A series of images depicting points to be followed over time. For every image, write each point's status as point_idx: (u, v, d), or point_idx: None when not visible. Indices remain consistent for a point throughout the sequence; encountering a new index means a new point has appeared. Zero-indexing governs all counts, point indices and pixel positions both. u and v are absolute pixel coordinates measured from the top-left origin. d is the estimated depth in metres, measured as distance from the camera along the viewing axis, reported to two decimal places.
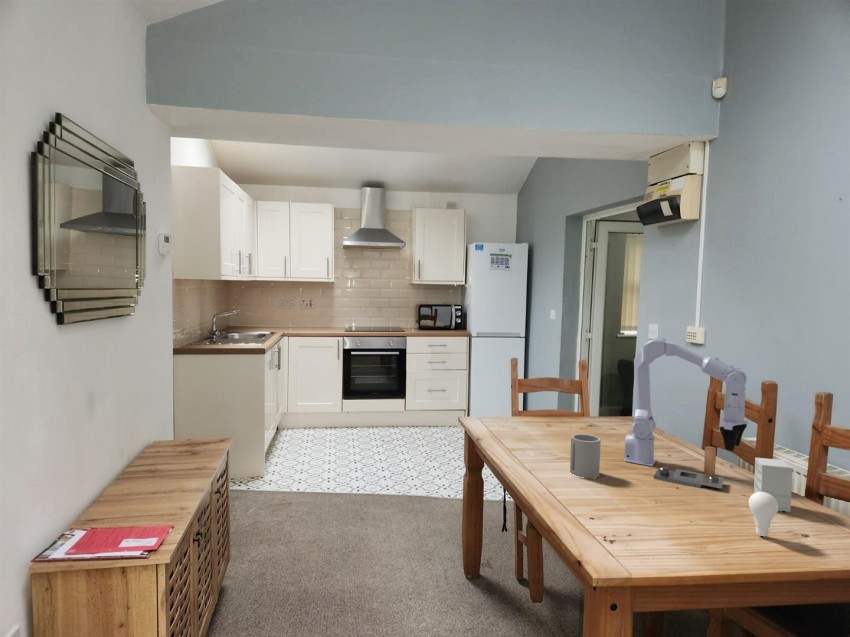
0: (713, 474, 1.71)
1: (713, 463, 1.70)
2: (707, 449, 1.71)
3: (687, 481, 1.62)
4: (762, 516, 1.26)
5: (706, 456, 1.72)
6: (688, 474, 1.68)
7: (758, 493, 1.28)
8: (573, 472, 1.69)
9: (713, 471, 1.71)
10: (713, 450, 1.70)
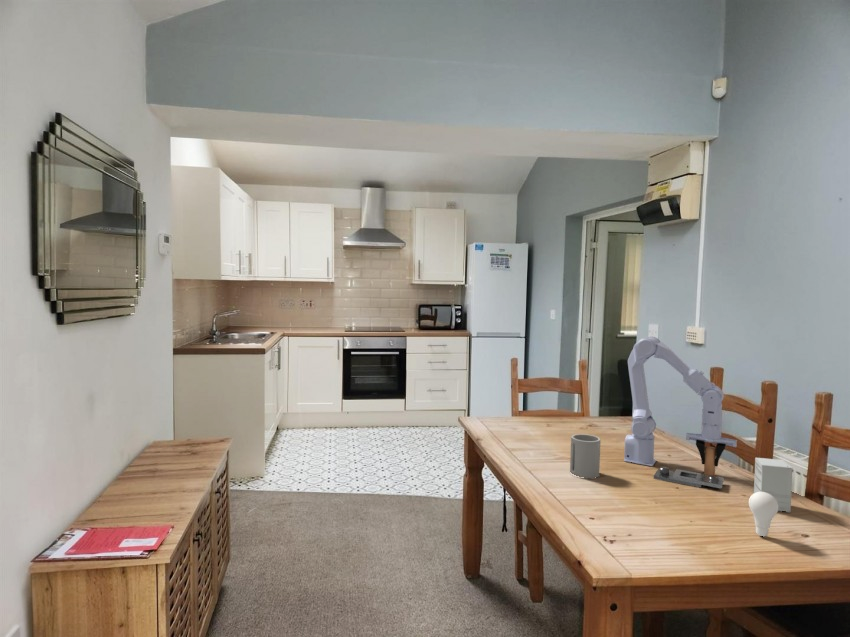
0: (713, 474, 1.71)
1: (713, 463, 1.70)
2: (707, 449, 1.71)
3: (687, 481, 1.62)
4: (762, 516, 1.26)
5: (706, 456, 1.72)
6: (688, 474, 1.68)
7: (758, 493, 1.28)
8: (573, 472, 1.69)
9: (713, 471, 1.71)
10: (713, 450, 1.70)
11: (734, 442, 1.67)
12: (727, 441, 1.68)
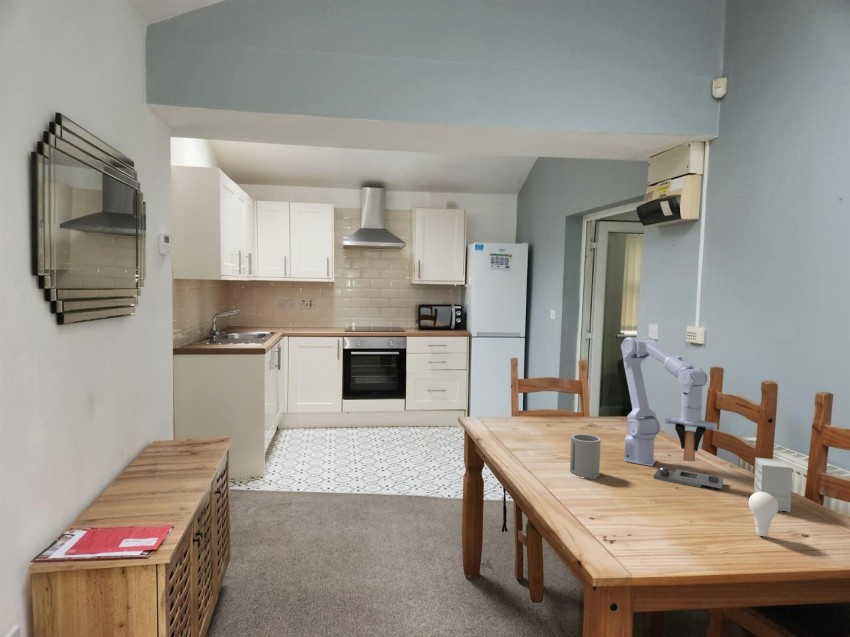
0: (693, 459, 1.64)
1: (692, 447, 1.64)
2: (686, 433, 1.64)
3: (687, 481, 1.62)
4: (762, 516, 1.26)
5: (685, 440, 1.65)
6: (688, 474, 1.68)
7: (758, 493, 1.28)
8: (573, 472, 1.69)
9: (693, 456, 1.64)
10: (692, 434, 1.64)
11: (714, 425, 1.60)
12: (707, 424, 1.61)
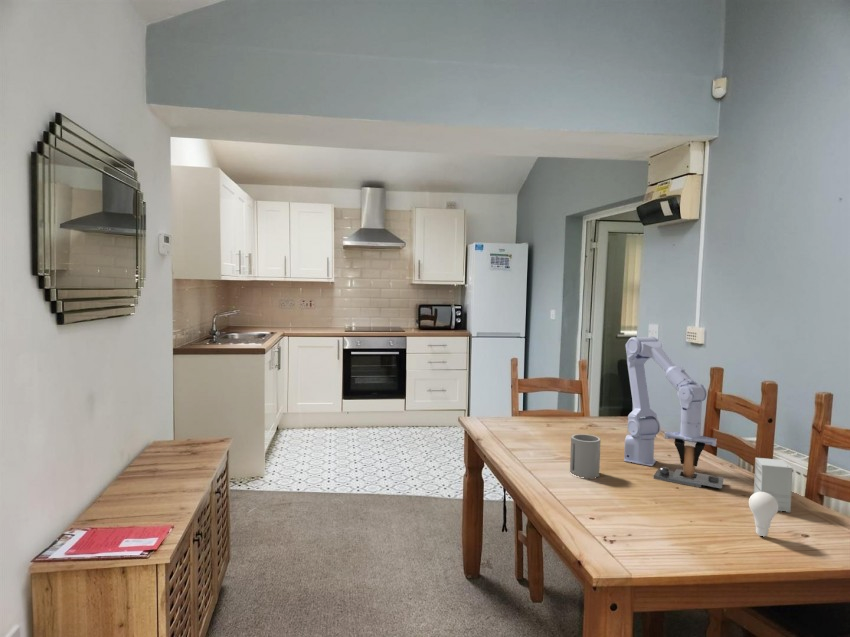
0: (692, 474, 1.64)
1: (692, 463, 1.64)
2: (686, 448, 1.65)
3: (687, 481, 1.62)
4: (762, 516, 1.26)
5: (684, 455, 1.65)
6: None
7: (758, 493, 1.28)
8: (573, 472, 1.69)
9: (692, 471, 1.64)
10: (692, 449, 1.64)
11: (713, 441, 1.61)
12: (706, 440, 1.61)
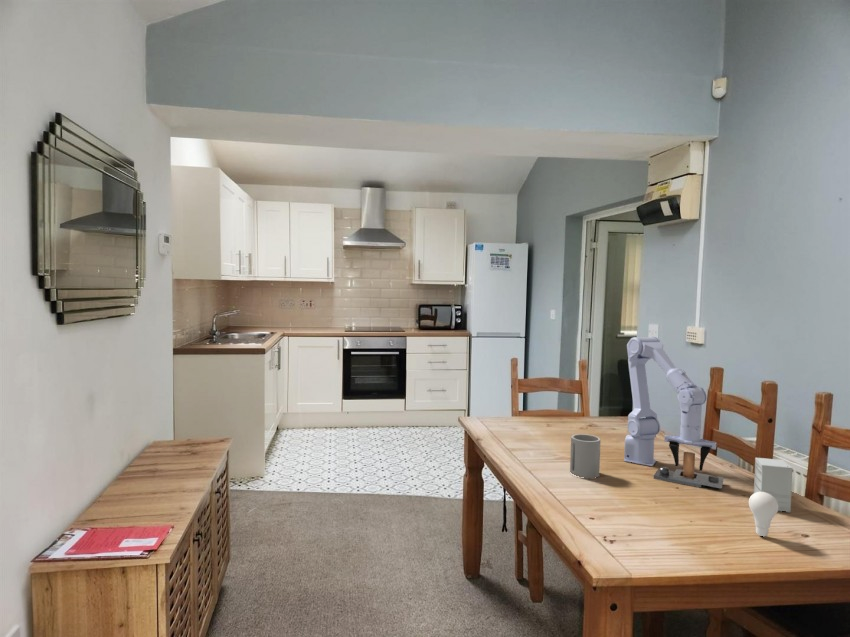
0: None
1: (691, 469, 1.64)
2: (685, 454, 1.65)
3: (687, 481, 1.62)
4: (762, 516, 1.26)
5: (684, 462, 1.65)
6: None
7: (758, 493, 1.28)
8: (573, 472, 1.69)
9: (692, 477, 1.64)
10: (691, 456, 1.64)
11: (713, 444, 1.61)
12: (706, 443, 1.61)
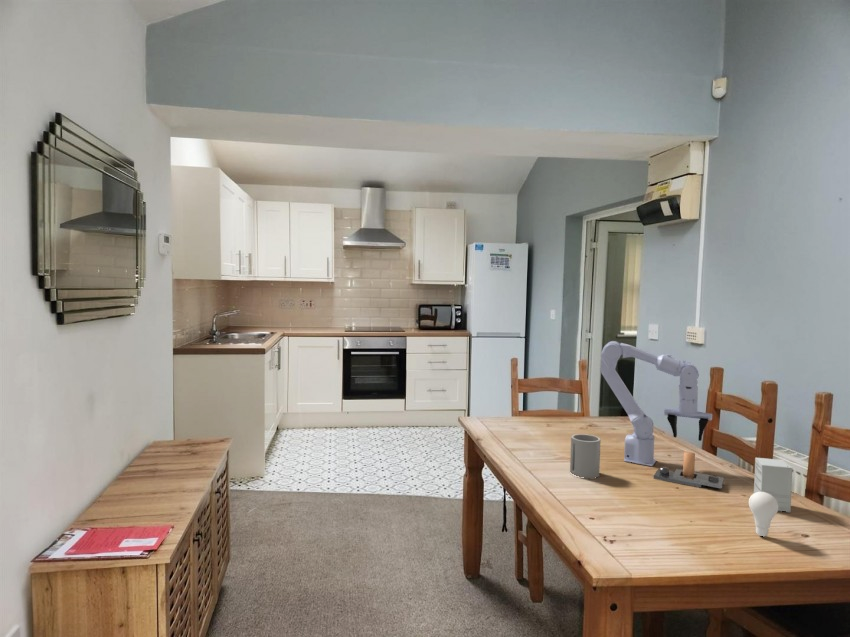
0: None
1: (691, 469, 1.64)
2: (685, 454, 1.65)
3: (687, 481, 1.62)
4: (762, 516, 1.26)
5: (684, 462, 1.65)
6: None
7: (758, 493, 1.28)
8: (573, 472, 1.69)
9: (692, 477, 1.64)
10: (691, 456, 1.64)
11: (709, 415, 1.74)
12: (703, 415, 1.74)
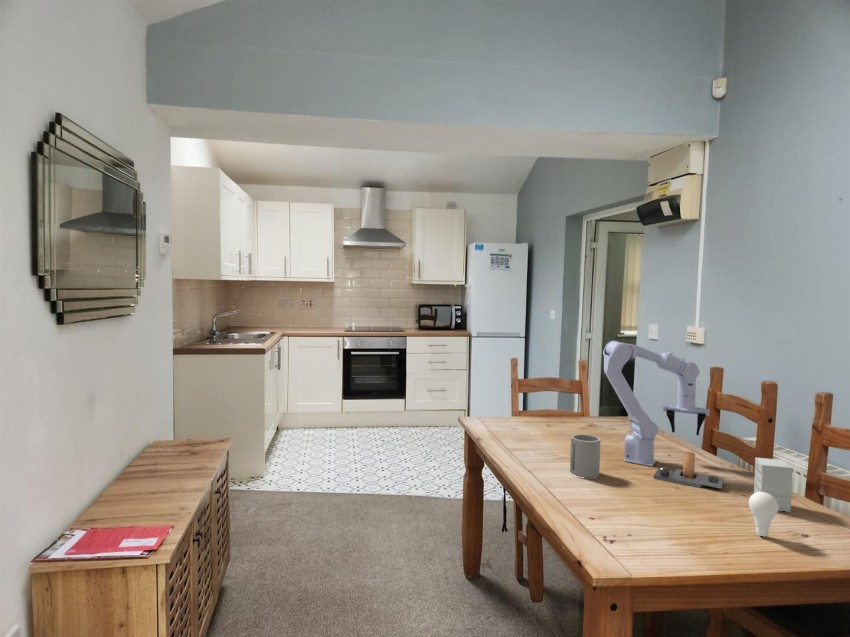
0: None
1: (691, 469, 1.64)
2: (685, 454, 1.65)
3: (687, 481, 1.62)
4: (762, 516, 1.26)
5: (684, 462, 1.65)
6: None
7: (758, 493, 1.28)
8: (573, 472, 1.69)
9: (692, 477, 1.64)
10: (691, 456, 1.64)
11: (707, 411, 1.80)
12: (701, 410, 1.80)
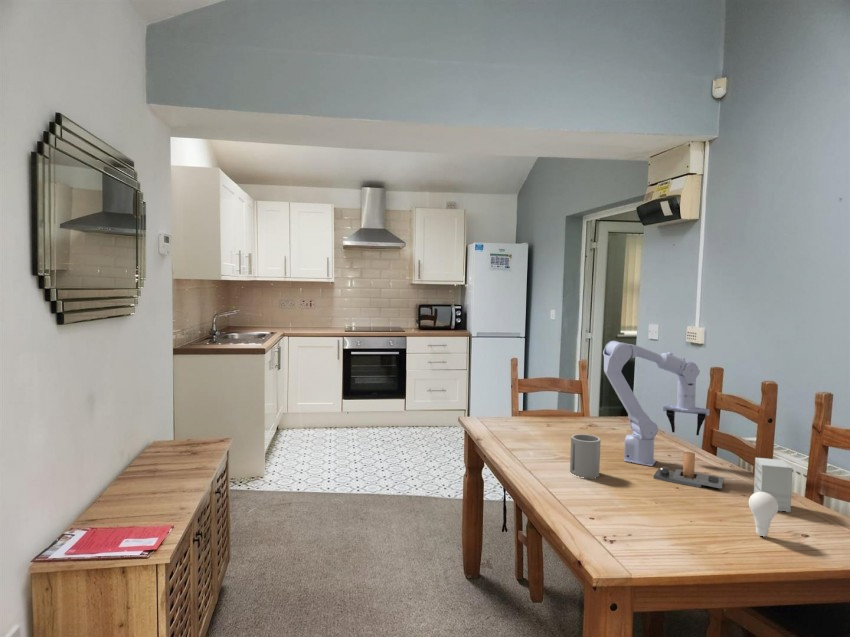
0: None
1: (691, 469, 1.64)
2: (685, 454, 1.65)
3: (687, 481, 1.62)
4: (762, 516, 1.26)
5: (684, 462, 1.65)
6: None
7: (758, 493, 1.28)
8: (573, 472, 1.69)
9: (692, 477, 1.64)
10: (691, 456, 1.64)
11: (707, 411, 1.80)
12: (701, 410, 1.80)
